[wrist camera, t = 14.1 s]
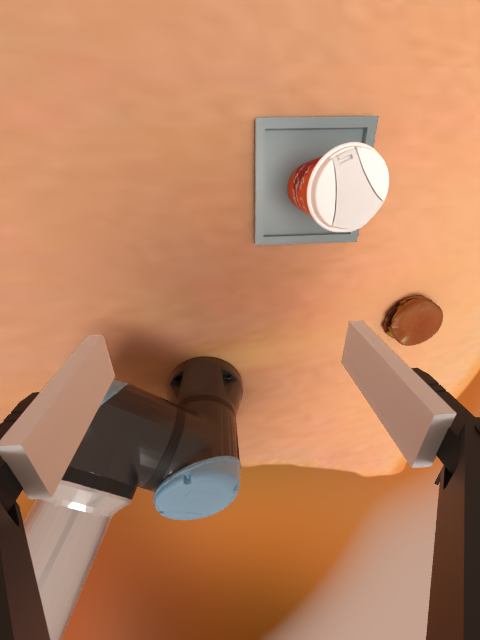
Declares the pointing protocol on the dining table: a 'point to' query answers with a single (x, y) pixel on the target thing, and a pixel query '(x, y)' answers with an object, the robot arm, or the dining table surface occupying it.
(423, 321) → the burger
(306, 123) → the tray
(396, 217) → the dining table surface
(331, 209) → the coffee cup
